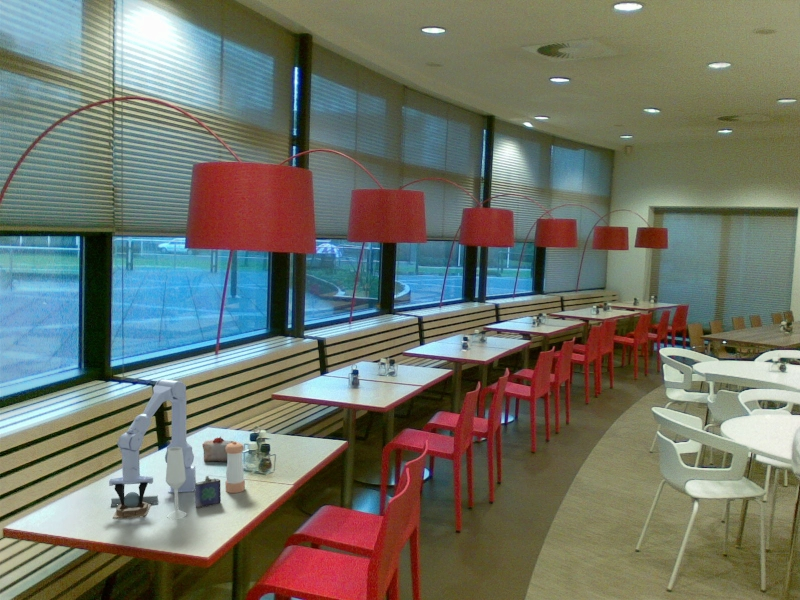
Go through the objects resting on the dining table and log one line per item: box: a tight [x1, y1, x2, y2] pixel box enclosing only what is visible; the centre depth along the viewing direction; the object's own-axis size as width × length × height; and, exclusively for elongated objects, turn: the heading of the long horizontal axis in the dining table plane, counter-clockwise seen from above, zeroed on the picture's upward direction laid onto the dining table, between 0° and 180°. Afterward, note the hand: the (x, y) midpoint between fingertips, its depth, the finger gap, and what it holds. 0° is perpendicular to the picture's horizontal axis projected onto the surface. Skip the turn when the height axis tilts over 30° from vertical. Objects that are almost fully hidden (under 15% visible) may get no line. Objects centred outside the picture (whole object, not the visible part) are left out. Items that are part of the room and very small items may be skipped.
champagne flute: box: [165, 447, 187, 520], centre depth 249 cm, size 7×7×24 cm
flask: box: [194, 475, 222, 509], centre depth 259 cm, size 9×3×11 cm, turn 121°
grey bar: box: [110, 494, 159, 507], centre depth 260 cm, size 16×3×2 cm, turn 100°
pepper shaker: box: [225, 440, 246, 494], centre depth 274 cm, size 7×7×19 cm
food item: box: [202, 436, 234, 463], centre depth 310 cm, size 14×8×10 cm, turn 85°
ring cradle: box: [112, 502, 152, 519], centre depth 253 cm, size 11×11×2 cm
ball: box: [124, 491, 140, 508], centre depth 253 cm, size 6×6×6 cm
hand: (132, 503), depth 253 cm, fingers closed on ball, 5 cm apart
